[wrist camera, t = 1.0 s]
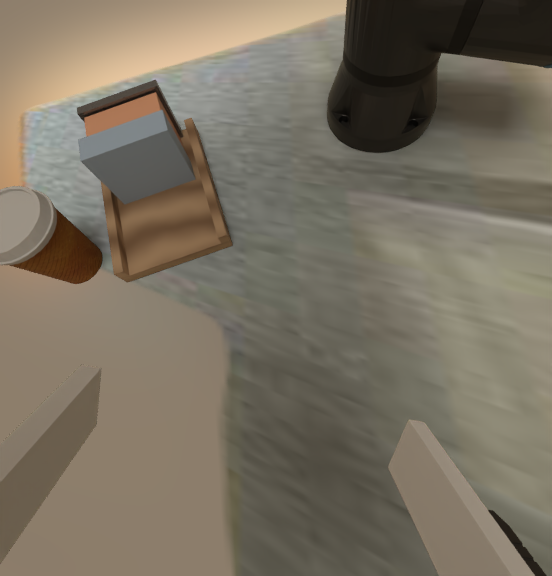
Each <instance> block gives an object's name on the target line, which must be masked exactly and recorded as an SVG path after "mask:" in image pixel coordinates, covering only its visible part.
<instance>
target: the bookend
mask: <svg viewBox="0 0 552 576" xmlns="http://www.w3.org/2000/svg"><path fill="white" fill-rule="evenodd" d="M155 92H156V93H157V95H158V97H159V99H160V101H161V103H162V105H163V106H164V108H165V110H166V112H167V114H168V116H169V118H170V119H171V121H172V123H173V125H174V127H175V129H176V131H177V133H178V134H179V136H180V138H182V137H184V136H183V132H182V129H181V128H180V126H179V124H178V122H177V120H176V118H175V116H174V114H173V112H172V110H171V109H170V107H169V105H168V103H167V101H166V99H165V97H164V95H163V93H162V91H161V89H160V87H159V85H158V83H157V81H156V80H153V81H150V82H148V83H145V84H142V85H139V86H137V87H134V88H131V89H128V90H125V91H123V92H120V93H117V94H114V95H112V96H109V97H106V98H103V99H101V100H98V101H95V102H92V103H89V104H87V105H84V106H81V107H78V108H77V113H78V115H79V116H80V118H81V119H82V120H83V121H84V122H85V120H84V118H85V117H88V116H91V115H94V114H96V113H99V112H102V111H105V110H107V109H110V108H113V107H116V106H119V105H121V104H124V103H127V102H130V101H133V100H135V99H138V98H141V97H144V96H146V95H149V94H152V93H155Z"/></svg>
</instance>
